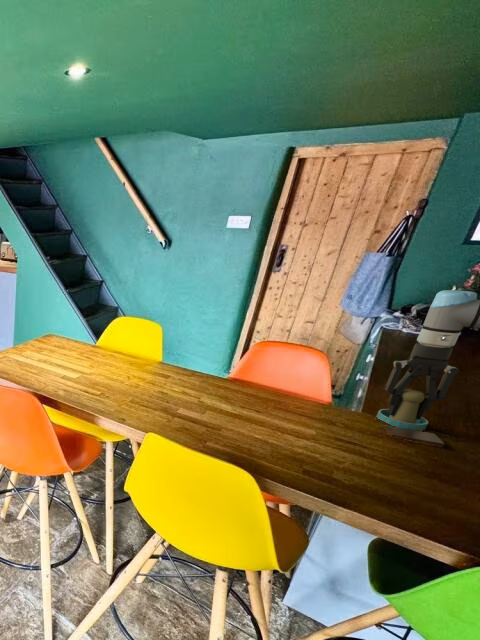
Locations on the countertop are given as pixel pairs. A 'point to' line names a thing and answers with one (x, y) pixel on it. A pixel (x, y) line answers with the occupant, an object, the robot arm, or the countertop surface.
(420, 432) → the board
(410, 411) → the cork
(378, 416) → the bowl
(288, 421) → the countertop surface
